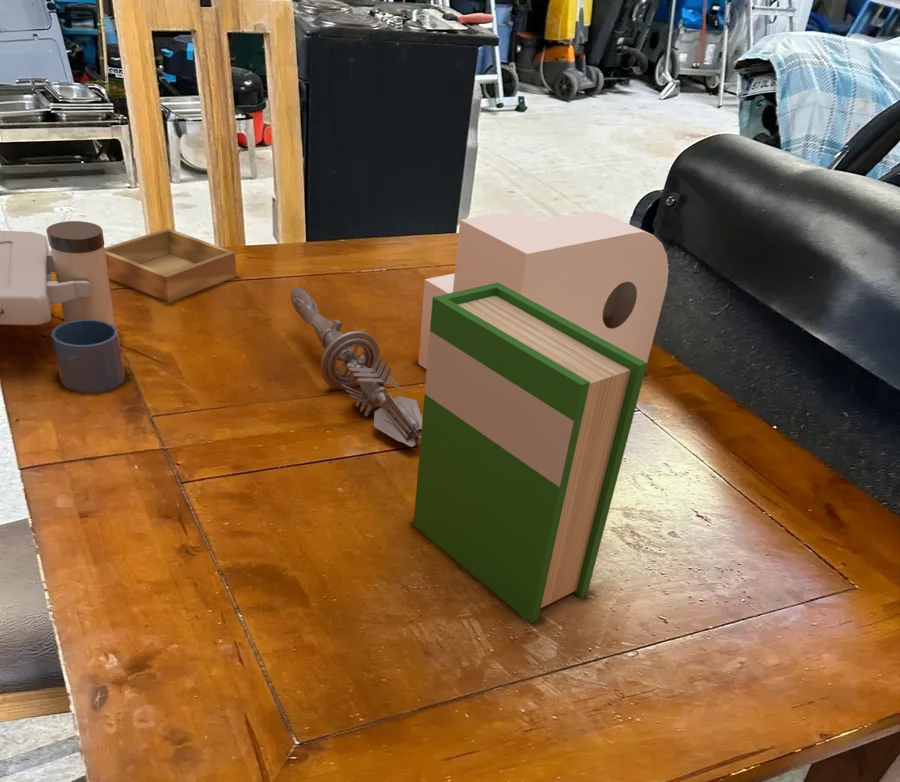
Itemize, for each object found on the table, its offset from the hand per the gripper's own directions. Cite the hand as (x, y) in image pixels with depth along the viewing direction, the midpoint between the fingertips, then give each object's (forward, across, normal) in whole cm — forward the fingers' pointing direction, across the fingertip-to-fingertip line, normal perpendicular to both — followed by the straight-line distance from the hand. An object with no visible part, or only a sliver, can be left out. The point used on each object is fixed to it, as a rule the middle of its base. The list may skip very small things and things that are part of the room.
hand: (89, 275), depth 109 cm
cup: (-1, -10, +8) cm, 14 cm away
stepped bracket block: (+54, -16, +9) cm, 57 cm away
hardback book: (+35, -53, +9) cm, 64 cm away
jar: (-1, 0, +8) cm, 9 cm away
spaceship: (+29, -17, +9) cm, 34 cm away
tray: (+10, +20, +8) cm, 24 cm away
